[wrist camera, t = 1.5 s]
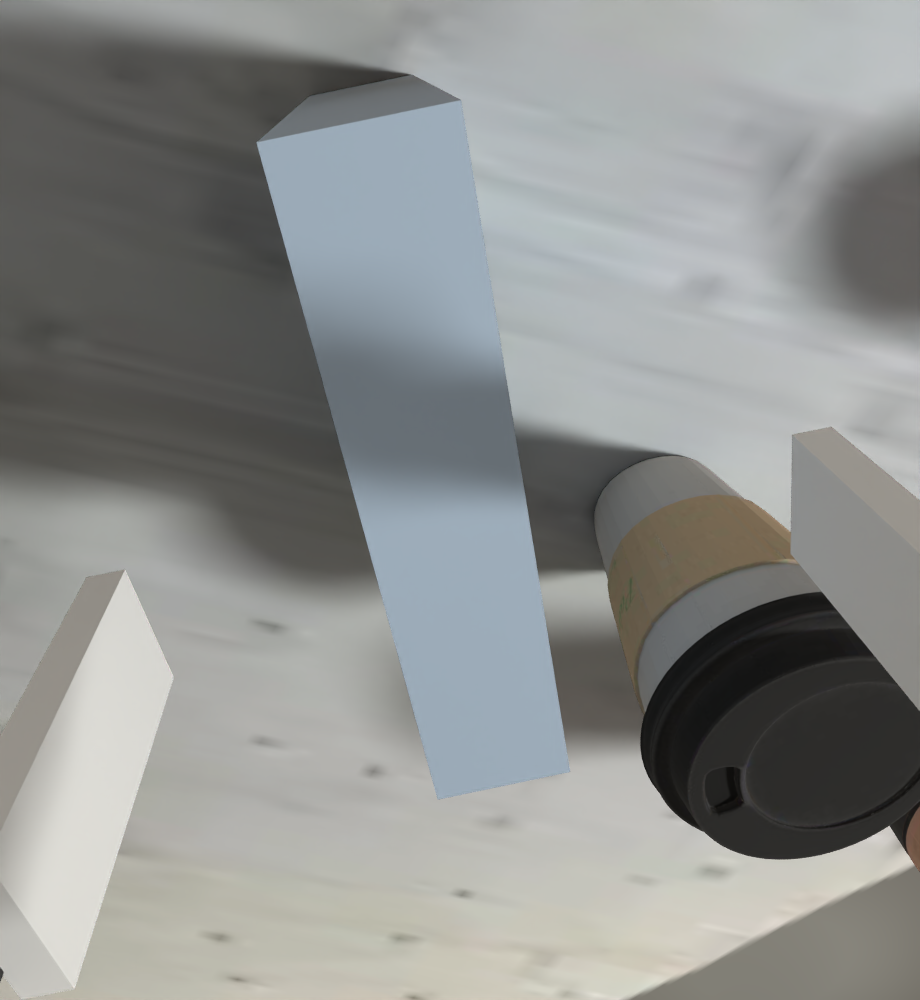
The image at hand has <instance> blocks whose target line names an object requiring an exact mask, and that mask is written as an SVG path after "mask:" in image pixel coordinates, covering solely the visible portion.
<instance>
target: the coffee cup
mask: <svg viewBox="0 0 920 1000" xmlns="http://www.w3.org/2000/svg"><path fill="white" fill-rule="evenodd" d="M594 526H595V533H596V538H597V542H598V545H599V549H600V553H601V556H602V560H603V564H604V567H605V571H606V575H607V578H608V591H609V598H610V603H611V607H612V610H613V614H614V618H615V621H616V625H617V629H618V632H619V636H620V640H621V643H622V647H623V651H624V654H625V658H626V662H627V665H628V669H629V673H630V676H631V680H632V684H633V687H634V691H635V694H636V697H637V699H638V702H639V705H640V707H641V710H642V712H643V714H644V719H643V723H642V728H641V737H640V746H641V755H642V760H643V764H644V767H645V770H646V772H647V775H648V777H649V778H650V780H651V782H652V784H653V785H654V786H655V788H656V789H657V790H658V792H659V793H660V794H661V796H662V798H663V800H664V801H665V802H666V804H667V805H668V806H669V807H670V808H671V810H672V811H673V812H674V813H675V814H676V815H678V816H679V817H680V818H681V819H682V820H684V821H685V822H687V823H688V824H690V825H691V826H693V827H695V828H697V829H699V830H701V831H703V832H705V833H706V834H707V835H708V836H709V837H711V838H712V839H713V840H714V841H716V842H717V843H719V844H720V845H722V846H724V847H726V848H728V849H730V850H732V851H735V852H737V853H740V854H744V855H747V856H752V857H756V858H764V859H798V858H806V857H812V856H817V855H822V854H826V853H830V852H833V851H836V850H840V849H843V848H845V847H848V846H851V845H853V844H856V843H858V842H860V841H862V840H865V839H867V838H868V837H870V836H872V835H874V834H876V833H878V832H880V831H881V830H883V829H885V828H886V827H888V826H889V825H891V824H892V823H894V822H895V821H897V820H898V819H899V818H901V817H902V816H903V815H904V814H906V813H907V812H908V811H909V810H910V809H912V808H913V807H914V806H915V805H916V804H917V803H918V802H919V801H920V711H919V710H918V708H917V707H916V706H915V705H914V703H913V702H912V701H911V700H910V699H909V697H908V696H907V695H906V694H905V692H904V691H903V690H902V689H901V688H900V686H899V685H898V684H897V683H896V682H895V680H894V679H893V678H892V677H891V675H890V674H889V673H888V672H887V671H886V669H885V668H884V667H883V666H882V664H881V663H880V662H879V661H878V660H877V658H876V657H875V656H874V655H873V653H872V652H871V651H870V650H869V649H868V647H867V646H866V645H865V644H864V642H863V641H862V640H861V639H860V638H859V636H858V635H857V634H856V633H855V632H854V630H853V629H852V628H851V627H850V625H849V624H848V623H847V622H846V621H845V619H844V618H843V617H842V616H841V614H840V613H839V612H838V611H837V610H836V608H835V607H834V606H833V605H832V603H831V602H830V601H829V600H828V599H827V597H826V596H825V595H824V594H823V592H822V591H821V590H820V589H819V588H818V586H817V585H816V584H815V583H814V582H813V580H812V579H811V578H810V577H809V575H808V574H807V573H806V572H805V571H804V569H803V568H802V567H801V566H800V564H799V563H798V562H797V561H796V560H795V558H794V557H793V556H792V555H791V532H790V531H789V530H787V529H786V528H785V527H784V526H783V525H781V524H780V523H779V522H778V521H777V520H775V519H774V518H773V517H772V516H771V515H769V514H768V513H767V512H766V511H765V510H763V509H762V508H760V507H759V506H757V505H756V504H754V503H753V502H751V501H749V500H746V499H744V498H743V497H742V496H741V495H739V494H738V493H737V492H736V491H735V490H733V489H732V488H731V487H730V486H729V485H727V484H726V483H725V482H724V481H723V480H721V479H720V478H719V477H718V476H717V475H715V474H714V473H713V472H712V471H711V470H709V469H708V468H707V467H705V466H704V465H702V464H701V463H699V462H698V461H696V460H693V459H690V458H687V457H680V456H662V457H656V458H652V459H648V460H645V461H642V462H640V463H637V464H634V465H632V466H631V467H629V468H627V469H625V470H624V471H622V472H621V473H619V474H618V475H617V476H616V477H614V478H613V479H612V480H611V481H610V482H609V483H608V485H607V486H606V487H605V488H604V489H603V491H602V493H601V495H600V497H599V499H598V502H597V505H596V509H595V517H594Z"/></svg>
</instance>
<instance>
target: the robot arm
mask: <svg viewBox="0 0 920 1000" xmlns="http://www.w3.org/2000/svg"><path fill="white" fill-rule="evenodd" d="M791 555H792V556H793V557H794V558H795V560H796V561H797V562H798V563H799V564H800V566H801V567H802V568H803V569H804V571H805V572H806V573H807V574H808V575H809V577H810V578H811V579H812V580H813V582H814V583H815V584H816V585H817V586H818V588H819V589H820V590H821V591H822V592H823V594H824V595H825V596H826V597H827V599H828V600H829V601H830V602H831V603H832V605H833V606H834V607H835V608H836V610H837V611H838V612H839V613H840V614H841V616H842V617H843V618H844V619H845V621H846V622H847V623H848V624H849V625H850V627H851V628H852V629H853V630H854V632H855V633H856V634H857V635H858V636H859V638H860V639H861V640H862V641H863V642H864V644H865V645H866V646H867V647H868V649H869V650H870V651H871V652H872V653H873V655H874V656H875V657H876V658H877V660H878V661H879V662H880V663H881V664H882V666H883V667H884V668H885V669H886V671H887V672H888V673H889V674H890V675H891V677H892V678H893V679H894V680H895V682H896V683H897V684H898V685H899V686H900V688H901V689H902V690H903V691H904V692H905V694H906V695H907V696H908V697H909V699H910V700H911V701H912V702H913V703H914V705H915V706H916V707H917V708H918V710H919V711H920V500H919V499H917V498H916V497H915V496H914V495H913V494H911V493H910V492H909V491H908V490H907V489H905V488H904V487H903V486H902V485H901V484H899V483H898V482H897V481H896V480H895V479H893V478H892V477H891V476H890V475H889V474H887V473H886V472H885V471H884V470H883V469H881V468H880V467H879V466H878V465H877V464H875V463H874V462H873V461H872V460H871V459H869V458H868V457H867V456H866V455H865V454H863V453H862V452H861V451H860V450H859V449H857V448H856V447H855V446H854V445H853V444H851V443H850V442H849V441H848V440H847V439H845V438H844V437H843V436H842V435H841V434H839V433H838V432H837V431H836V430H835V429H833V428H832V427H828V428H823V429H818V430H813V431H808V432H803V433H798V434H794V435H792V485H791ZM173 678H174V677H173V675H172V672H171V670H170V668H169V666H168V664H167V661H166V659H165V657H164V655H163V652H162V650H161V648H160V646H159V644H158V641H157V639H156V637H155V635H154V632H153V630H152V628H151V626H150V624H149V621H148V619H147V617H146V615H145V612H144V610H143V608H142V606H141V604H140V601H139V599H138V597H137V595H136V592H135V590H134V588H133V586H132V584H131V581H130V579H129V577H128V575H127V572H126V570H121V571H116V572H111V573H106V574H101V575H96V576H91V577H86V579H85V581H84V583H83V585H82V587H81V588H80V590H79V592H78V594H77V596H76V598H75V600H74V601H73V603H72V605H71V607H70V609H69V611H68V612H67V614H66V616H65V618H64V620H63V622H62V623H61V625H60V627H59V629H58V631H57V633H56V634H55V636H54V638H53V640H52V642H51V644H50V646H49V647H48V649H47V651H46V653H45V655H44V657H43V658H42V660H41V662H40V664H39V666H38V668H37V669H36V671H35V673H34V675H33V677H32V679H31V681H30V682H29V684H28V686H27V688H26V690H25V692H24V693H23V695H22V697H21V699H20V701H19V703H18V704H17V706H16V708H15V710H14V712H13V714H12V716H11V717H10V719H9V721H8V723H7V725H6V727H5V728H4V730H3V732H2V734H1V736H0V981H1V978H2V976H4V978H5V979H6V980H7V982H8V983H9V984H10V986H11V987H12V988H13V990H14V991H15V992H16V994H17V995H18V996H19V998H20V999H21V1000H23V999H28V998H33V997H38V996H43V995H48V994H53V993H58V992H63V991H68V990H73V989H75V986H76V983H77V980H78V977H79V973H80V970H81V967H82V964H83V961H84V958H85V955H86V951H87V948H88V945H89V942H90V939H91V936H92V933H93V929H94V926H95V923H96V920H97V917H98V914H99V911H100V908H101V904H102V901H103V898H104V895H105V892H106V889H107V886H108V882H109V879H110V876H111V873H112V870H113V867H114V864H115V860H116V857H117V854H118V851H119V848H120V845H121V842H122V838H123V835H124V832H125V829H126V826H127V823H128V820H129V816H130V813H131V810H132V807H133V804H134V801H135V798H136V794H137V791H138V788H139V785H140V782H141V779H142V776H143V773H144V769H145V766H146V763H147V760H148V757H149V754H150V751H151V747H152V744H153V741H154V738H155V735H156V732H157V729H158V725H159V722H160V719H161V716H162V713H163V710H164V707H165V703H166V700H167V697H168V694H169V691H170V688H171V685H172V681H173Z"/></svg>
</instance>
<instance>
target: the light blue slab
mask: <svg viewBox="0 0 920 1000" xmlns="http://www.w3.org/2000/svg"><path fill="white" fill-rule="evenodd" d="M256 143H257V147H258V150H259V154H260V157H261V161H262V165H263V168H264V172H265V176H266V179H267V183H268V186H269V190H270V194H271V197H272V201H273V205H274V208H275V212H276V215H277V219H278V223H279V226H280V230H281V234H282V237H283V241H284V244H285V248H286V252H287V255H288V259H289V262H290V266H291V270H292V273H293V277H294V281H295V284H296V288H297V291H298V295H299V299H300V302H301V306H302V310H303V313H304V317H305V320H306V324H307V328H308V331H309V335H310V339H311V342H312V346H313V349H314V353H315V357H316V360H317V364H318V367H319V371H320V375H321V378H322V382H323V386H324V389H325V393H326V396H327V400H328V404H329V407H330V411H331V415H332V418H333V422H334V425H335V429H336V433H337V436H338V440H339V444H340V447H341V451H342V454H343V458H344V462H345V465H346V469H347V472H348V476H349V480H350V483H351V487H352V491H353V494H354V498H355V501H356V505H357V509H358V512H359V516H360V520H361V523H362V527H363V530H364V534H365V538H366V541H367V545H368V549H369V552H370V556H371V559H372V563H373V567H374V570H375V574H376V577H377V581H378V585H379V588H380V592H381V596H382V599H383V603H384V606H385V610H386V614H387V617H388V621H389V625H390V628H391V632H392V635H393V639H394V643H395V646H396V650H397V654H398V657H399V661H400V664H401V668H402V672H403V675H404V679H405V682H406V686H407V690H408V693H409V697H410V701H411V704H412V708H413V711H414V715H415V719H416V722H417V726H418V730H419V733H420V737H421V740H422V744H423V748H424V751H425V755H426V759H427V762H428V766H429V769H430V773H431V777H432V780H433V784H434V787H435V791H436V795H437V798H438V799H443V798H448V797H453V796H457V795H462V794H467V793H472V792H476V791H481V790H486V789H491V788H496V787H500V786H505V785H510V784H515V783H519V782H524V781H529V780H534V779H538V778H543V777H548V776H553V775H557V774H562V773H567V772H570V768H569V762H568V756H567V749H566V743H565V737H564V731H563V725H562V719H561V712H560V706H559V700H558V694H557V688H556V682H555V676H554V669H553V663H552V657H551V651H550V645H549V639H548V632H547V626H546V620H545V614H544V608H543V602H542V595H541V589H540V583H539V577H538V571H537V565H536V559H535V552H534V546H533V540H532V534H531V528H530V522H529V515H528V509H527V503H526V497H525V491H524V485H523V478H522V472H521V466H520V460H519V454H518V448H517V442H516V435H515V429H514V423H513V417H512V411H511V405H510V398H509V392H508V386H507V380H506V374H505V368H504V361H503V355H502V349H501V343H500V337H499V331H498V325H497V318H496V312H495V306H494V300H493V294H492V288H491V281H490V275H489V269H488V263H487V257H486V251H485V244H484V238H483V232H482V226H481V220H480V214H479V208H478V201H477V195H476V189H475V183H474V177H473V171H472V164H471V158H470V152H469V146H468V140H467V134H466V127H465V121H464V115H463V109H462V103H461V100H460V99H458V98H456V97H454V96H452V95H450V94H448V93H446V92H444V91H443V90H441V89H439V88H437V87H435V86H433V85H431V84H429V83H427V82H425V81H423V80H421V79H419V78H417V77H415V76H414V75H408V76H403V77H399V78H394V79H389V80H384V81H379V82H374V83H370V84H365V85H360V86H355V87H350V88H345V89H340V90H336V91H331V92H326V93H321V94H316V95H311V96H309V97H308V98H307V99H305V100H304V101H303V102H302V103H301V104H300V105H299V106H297V107H296V108H295V109H294V110H293V111H292V112H291V113H289V114H288V115H287V116H286V117H285V118H284V119H283V120H281V121H280V122H279V123H278V124H277V125H276V126H275V127H273V128H272V129H271V130H270V131H269V132H268V133H267V134H265V135H264V136H263V137H262V138H261V139H260V140H259V141H257V142H256Z"/></svg>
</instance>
